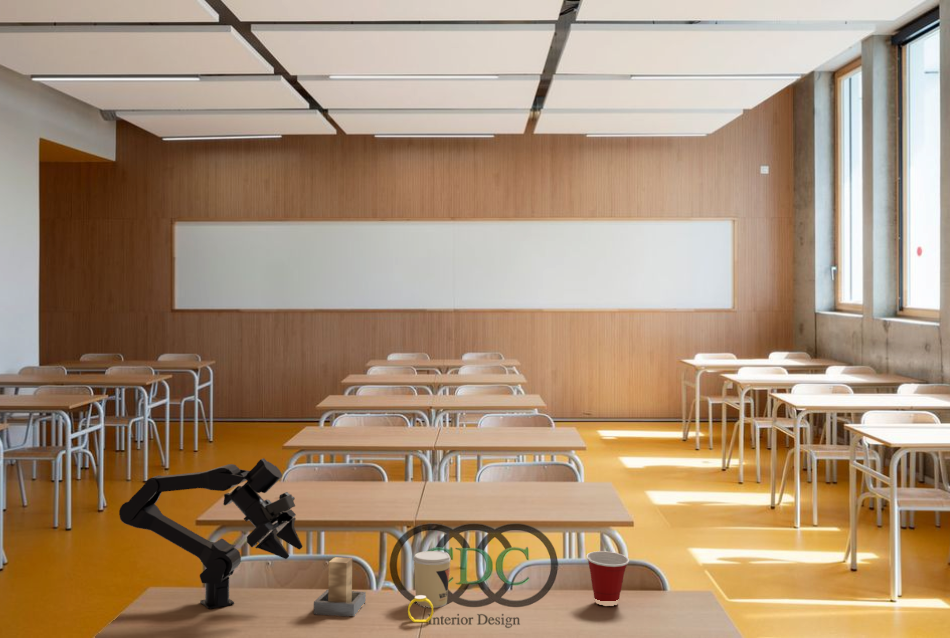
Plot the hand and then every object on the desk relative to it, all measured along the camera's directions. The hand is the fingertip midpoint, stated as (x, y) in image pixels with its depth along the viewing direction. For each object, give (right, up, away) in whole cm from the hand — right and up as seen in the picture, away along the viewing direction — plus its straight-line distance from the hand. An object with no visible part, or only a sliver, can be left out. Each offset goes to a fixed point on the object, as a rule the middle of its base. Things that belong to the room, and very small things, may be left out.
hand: (294, 552), depth 215 cm
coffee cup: (+33, -14, +5) cm, 37 cm away
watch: (+31, -14, -9) cm, 36 cm away
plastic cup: (+78, -15, +6) cm, 79 cm away
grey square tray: (+11, -14, 0) cm, 18 cm away
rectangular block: (+11, -14, 0) cm, 18 cm away
